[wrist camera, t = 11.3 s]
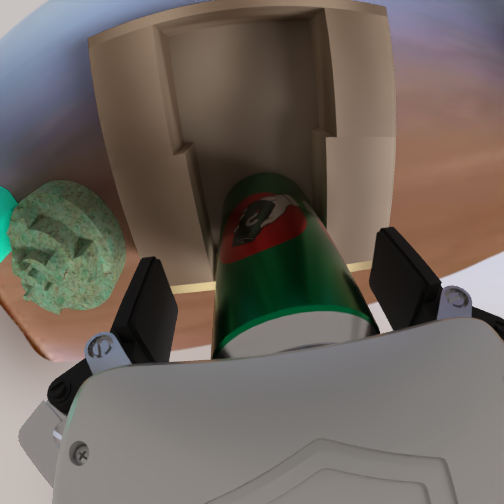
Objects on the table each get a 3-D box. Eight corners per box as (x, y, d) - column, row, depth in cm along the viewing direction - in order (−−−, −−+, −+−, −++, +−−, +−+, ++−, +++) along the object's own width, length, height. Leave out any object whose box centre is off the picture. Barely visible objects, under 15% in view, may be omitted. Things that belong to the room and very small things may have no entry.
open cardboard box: (354, 20, 11) (385, 6, 8) (359, 234, 19) (382, 266, 16) (118, 47, 11) (87, 38, 8) (167, 258, 19) (155, 295, 16)
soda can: (208, 225, 17) (182, 416, 7) (248, 153, 15) (279, 313, 5) (277, 256, 18) (315, 434, 8) (321, 194, 16) (425, 359, 6)
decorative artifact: (86, 155, 15) (10, 210, 16) (21, 196, 9) (-40, 256, 10) (149, 272, 20) (67, 299, 21) (124, 343, 14) (37, 355, 15)
